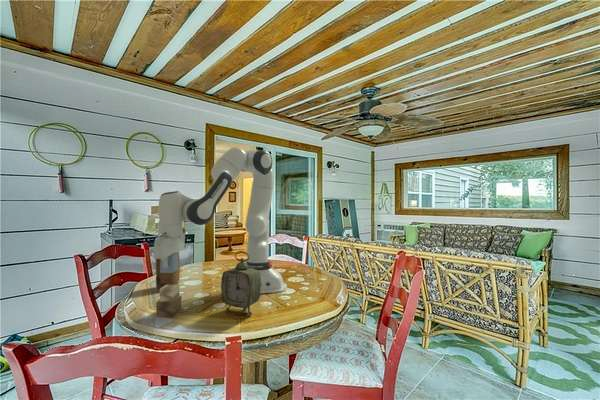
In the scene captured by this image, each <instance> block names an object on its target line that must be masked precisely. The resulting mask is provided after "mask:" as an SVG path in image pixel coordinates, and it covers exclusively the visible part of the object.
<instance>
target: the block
mask: <svg viewBox="0 0 600 400" xmlns="http://www.w3.org/2000/svg"><path fill="white" fill-rule="evenodd" d="M180 259H181V258H180V251H179V252H178V270H177V271H175V272H173V273H160V259H155V273H156V274H155V287H156V289H160V288H162V287H163V286H165V285H179V281H180V276H181V273H180V271H181V270H180Z"/></svg>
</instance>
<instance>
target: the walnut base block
mask: <svg viewBox="0 0 600 400" xmlns="http://www.w3.org/2000/svg"><path fill="white" fill-rule="evenodd" d="M155 304H156V305H155V309H156V310H155V313H156V315H155V316H156V318H175V317H176V316H177V315H178V314H179V313H180V312H181V311H182V295H180V297H179V298H177V299H176V300H175V301H174V302H160V299H158V300H157V301H156V303H155ZM180 310H181V311H180ZM179 311H180V312H179ZM178 312H179V313H178ZM177 313H178V314H177ZM176 314H177V315H176ZM175 315H176V316H175ZM174 316H175V317H174Z"/></svg>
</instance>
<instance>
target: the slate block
mask: <svg viewBox="0 0 600 400" xmlns="http://www.w3.org/2000/svg"><path fill="white" fill-rule="evenodd" d="M168 262H169V267H167V268H164V267H163V262H162V260H161V259H160V273H173V272H175V271H177V270H178V253H175V254H172V255H170V256H168Z"/></svg>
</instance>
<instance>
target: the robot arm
mask: <svg viewBox="0 0 600 400" xmlns="http://www.w3.org/2000/svg"><path fill="white" fill-rule="evenodd" d="M272 167H273V158H272V155H271V153H270V152H269V151H267V150H264V149H259V150H258V149H249V150H243V149H242V148H240V147H238V146H233V147H230V149H228V150H227V151H225V152H224V153H223V154H222V155H221V156H220V157H219V158H218V160H217V161H216V162H215V163H214V165H213V167H212V169H211V172H210V173H211V178H212V179H213V183H212V184H211V185H210V187H209V189H208V190H207V191H206V193H205V194H204V195H203V196H202V197H200V198H199V199H193V198H190V197H189V196H186V195H185V194H183V193H181V191H178V190H177V191H168V192H163V193H162V194H161V195H160V196H159V198H158V199H159V200H158V206H157V207H158V208H157V209H158V211H157V213H158V214H157V215H158V217H159V218H158V223H157V237H156V239H155V240H154V242H153V243H154V244H153V251H152V252H153V254H152V255H153V259H155V260H156V259H161V260H162V262H163V267H164V268H167V267H169V262H168V256H170V255H172V254H175V253H178V252H179V253H180V252H182V251H183V250H184V249H185V245H186V244H185V242H186V241H185V240H186V236H185V234H186V233H187V229H186V228H185V227H184V226H183V222H188V223H192V224H195V225H197V226H203V225H207V224H208V223H210V222H211V220H212V219H213V217H214V215H215V211H216V209H217V206H218V205H219V204H220V203H219V202H220V201H221V200H222V198H223V197H224V195H225V194H226V193H227V192H228V190H229V187H230V186H231V184H232V183H233V181H235V179H236V178H237V176H238V175H239V174H240V172H247V173H251V174H252V182H251V191H250V199H249V203H248V208H247V212H246V213H247V214H246V218H245V224H244V225H245V226H244V227H245V230H246V232H247V233H248V235H247V245H246V253H247V254H248V255H249V260H248V261H245V263H247V265H248V267H249V268H253V269H256V270H258V271H259V272H260V276H261V293H260V294H267V293H269V294H270V293H271V294H273V293H283V292H286V291H287V288H288V285H287V283H286V282H284V280H283V277H282V274H281V273H279V272H278V271H277V270H276V269H274V268H273V261H271V260H269V241H270V240H269V238H270V237H269V236H270V220H269V217H270V212H271V206H272V199H273V191H274V181H275V179H274V171H273V169H272ZM247 259H248V256H247V255H246V260H247Z"/></svg>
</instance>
